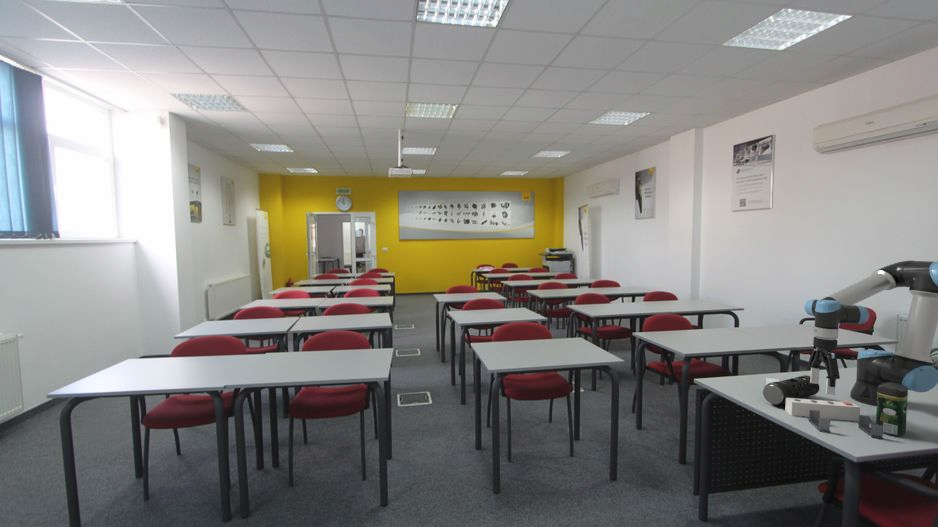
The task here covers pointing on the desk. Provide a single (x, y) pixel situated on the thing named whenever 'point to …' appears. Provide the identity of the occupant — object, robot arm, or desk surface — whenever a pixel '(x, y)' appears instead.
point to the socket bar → (823, 409)
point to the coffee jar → (892, 408)
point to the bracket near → (874, 431)
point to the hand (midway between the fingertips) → (821, 388)
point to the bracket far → (819, 421)
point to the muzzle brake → (790, 390)
